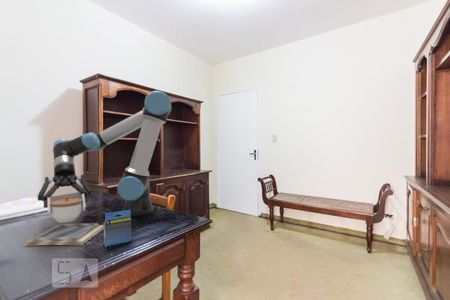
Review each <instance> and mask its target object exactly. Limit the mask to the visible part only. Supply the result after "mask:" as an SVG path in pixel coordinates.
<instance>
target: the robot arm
mask: <svg viewBox="0 0 450 300" xmlns="http://www.w3.org/2000/svg"><path fill="white" fill-rule="evenodd" d="M172 106H173V105H172V101H171V98H170V96H168V94H167V93H165V92H164V91H161V90H154V91H151V92H149V93H148V94H147V95H146V96H145V99H144V107H143V108H142V110H140V111H138V112H136V113H135V114H133V115H130V116H129V117H127V118H125V119H122V120H121V121H119V122H117V123H115V124H114V125H112V126H110V127H108V128H106V129H104V130H102V131H101V132H99V133H95V132H92V131H91V132H88V133H84V134H83V135H80V136H78V137H76V138H73V139H68V138H64V139H61V138H60V139H58V140H55V141H54V143H53V147H52V153H53V177H48V176H46V177H45V178H44V183H43V185H42V187H41V189H40V190H39V193H38V194H37V201H39V202H40V201H43V208H44V209H45V208H46V209H47V217H50V216H51V210H50V202H51V197H52V196H53V194H55V192H56V191H57V190H58V189H59V188H63V187H64V188H65V187H71V188H74V189H75V190H76V191H77V192H78V193H79V194H80V195H81V199H82V211H83V212H85V211H86V203H88V201H89V199H88V196H91V195H92V191H93V190H92V188H91V187H90V185H89V183H87V180H86V179H85V175H84V174H81V175H79V176H78V175H76V169H75V157H76V156H79V155H82V154H83V153H87V152H99V151H101V150H103V149H105V148H106V147H107V146H108V145H110V144H112V143H114V142H116V141H117V140H120V139H122V138H123V137H126V136H128V135H130V134H131V133H133V132H135V131H136V130H139V129H140V132H139V134H138V138H137V141H136V145H135V146H134V148H135V149H134V150H133V154H132V157H131V160H130V163H129V166H127V167H126V168H124V172H123V175H122V178H121V179H120V180H119V181H118V184H117V189H116V190H117V193H118V195H119V196H120V198H122V199H124V200H125V203H124V204H125V205H124V207H123V210H122V211H127V210H130V211H131V217H136V216H144V215H149V214H150V213H153V211H154V206H153V204H152V200H151V198H150V197H151V196H150V171H149V166H150V164H151V160H152V157H153V154H154V151H155V147H156V145H157V142H158V141H157V140H158V139H159V135H160V131H161V129H162V126H163V125H164V124H166V123H167V120H168V116H169V115H170V114H171V112H172V108H173V107H172ZM77 180H78V181H79V182H80V184H81V185H82V186H81V185H80V184H79V183H77ZM52 182H54V184H53V185H52V187H50V188H49V185H50V184H51V183H52ZM48 188H49V190H48ZM47 190H48V191H47Z"/></svg>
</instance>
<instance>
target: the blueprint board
mask: <svg viewBox="0 0 450 300" xmlns="http://www.w3.org/2000/svg"><path fill="white" fill-rule="evenodd" d="M102 231H104V224H99V223H97V222H95V223H61V224H58V225H56V226H54V227H52V228H51V229H47V230H46V231H45V232H43V233H41V234H38V235H36V236H35V237H33V238H31V239H29V240H27V241H25V247H35V246H34V245H69V246H84V245H85V244H86V243H88V242H89V241H90V240H91V239H92V237H93V238H94V237H95V236H97V235H98V234H99V233H101V232H102ZM88 240H89V241H88ZM84 243H85V244H84Z"/></svg>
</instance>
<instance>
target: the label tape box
mask: <svg viewBox="0 0 450 300" xmlns="http://www.w3.org/2000/svg"><path fill="white" fill-rule="evenodd" d="M118 215H119V216H118ZM131 222H132V216H131V211H130V210H127V211H123V210H120V211H115V212H106V213H105V220H104V221H103V225H104V229H103V244H105V245H104V247H105V248H107V246H109V247H112V246H111V245H113V246H117V245H121V244H124V243H129V241H130V242H131V241H132V240H131V239H132V237H131V236H132V233H131V232H132V231H131V230H132V229H131V228H132V223H131ZM120 243H121V244H120ZM116 244H117V245H116Z"/></svg>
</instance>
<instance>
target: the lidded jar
mask: <svg viewBox="0 0 450 300" xmlns="http://www.w3.org/2000/svg"><path fill="white" fill-rule="evenodd" d="M82 210H83V207H82V197H81V198H80V197H69V196H65V197H64V198H59V199H55V200H52V201H50V216H51V217H52V219H54V220H55V221H57V223H61V224H64V223H69V222H73V221H75V220H76V219H77V218H78V217H79V216H80V214H81V213H82Z"/></svg>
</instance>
